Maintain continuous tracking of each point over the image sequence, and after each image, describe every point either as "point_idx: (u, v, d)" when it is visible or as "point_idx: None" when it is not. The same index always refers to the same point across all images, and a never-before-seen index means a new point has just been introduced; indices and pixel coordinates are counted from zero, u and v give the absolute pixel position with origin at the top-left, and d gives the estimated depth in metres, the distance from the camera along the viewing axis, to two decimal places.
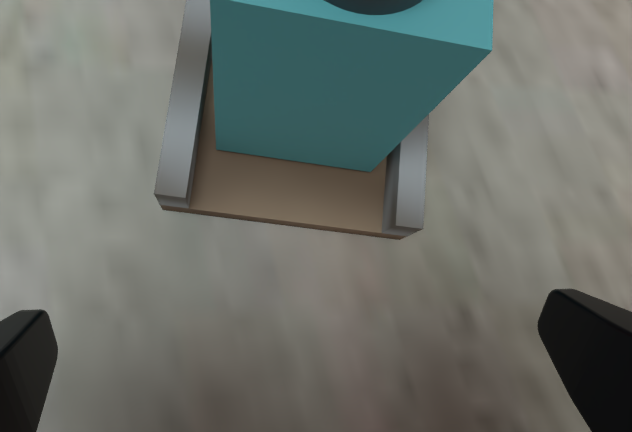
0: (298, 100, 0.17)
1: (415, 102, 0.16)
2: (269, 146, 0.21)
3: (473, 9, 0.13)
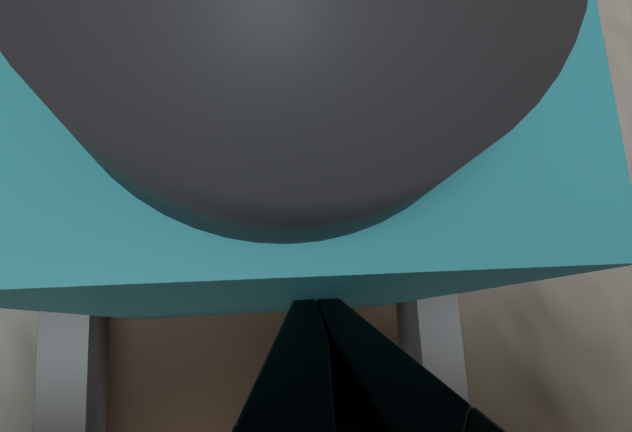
0: (226, 304, 0.09)
1: (444, 291, 0.08)
2: (211, 313, 0.14)
3: (576, 161, 0.05)
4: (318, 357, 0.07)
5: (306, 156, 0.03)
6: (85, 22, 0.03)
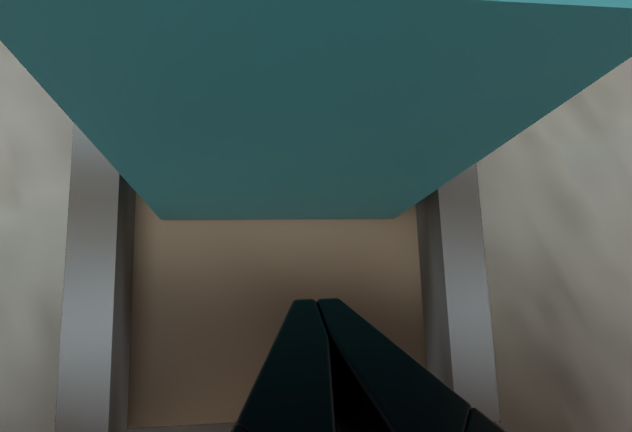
0: (262, 154, 0.09)
1: (479, 131, 0.08)
2: (237, 209, 0.14)
3: None
4: (318, 357, 0.07)
5: None
6: None
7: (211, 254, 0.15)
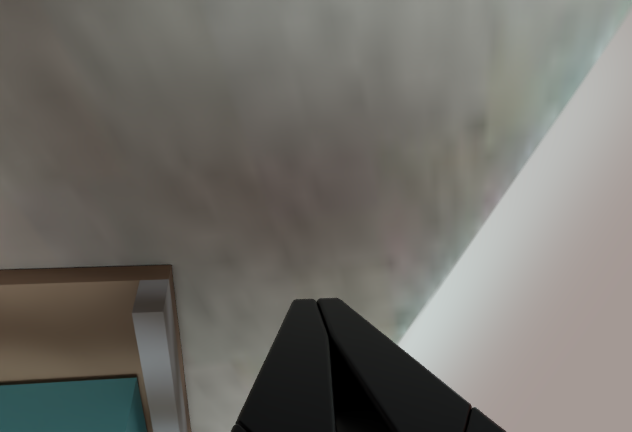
0: None
1: None
2: (80, 405, 0.23)
3: None
4: (318, 357, 0.07)
5: None
6: None
7: (103, 360, 0.24)
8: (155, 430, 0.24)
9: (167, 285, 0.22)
